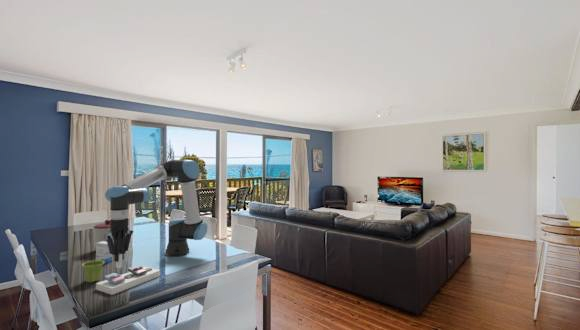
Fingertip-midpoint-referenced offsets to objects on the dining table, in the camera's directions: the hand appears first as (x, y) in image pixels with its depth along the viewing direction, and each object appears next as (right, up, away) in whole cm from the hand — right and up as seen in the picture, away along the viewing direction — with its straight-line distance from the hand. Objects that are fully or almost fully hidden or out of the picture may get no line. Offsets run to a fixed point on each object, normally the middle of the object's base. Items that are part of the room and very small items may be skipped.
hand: (118, 267), depth 136 cm
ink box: (-32, -10, +38) cm, 51 cm away
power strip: (+1, -10, +8) cm, 13 cm away
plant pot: (-19, -10, +10) cm, 24 cm away
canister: (-46, -10, +63) cm, 78 cm away
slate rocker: (-3, -7, +1) cm, 8 cm away
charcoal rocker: (+3, -7, +12) cm, 14 cm away
